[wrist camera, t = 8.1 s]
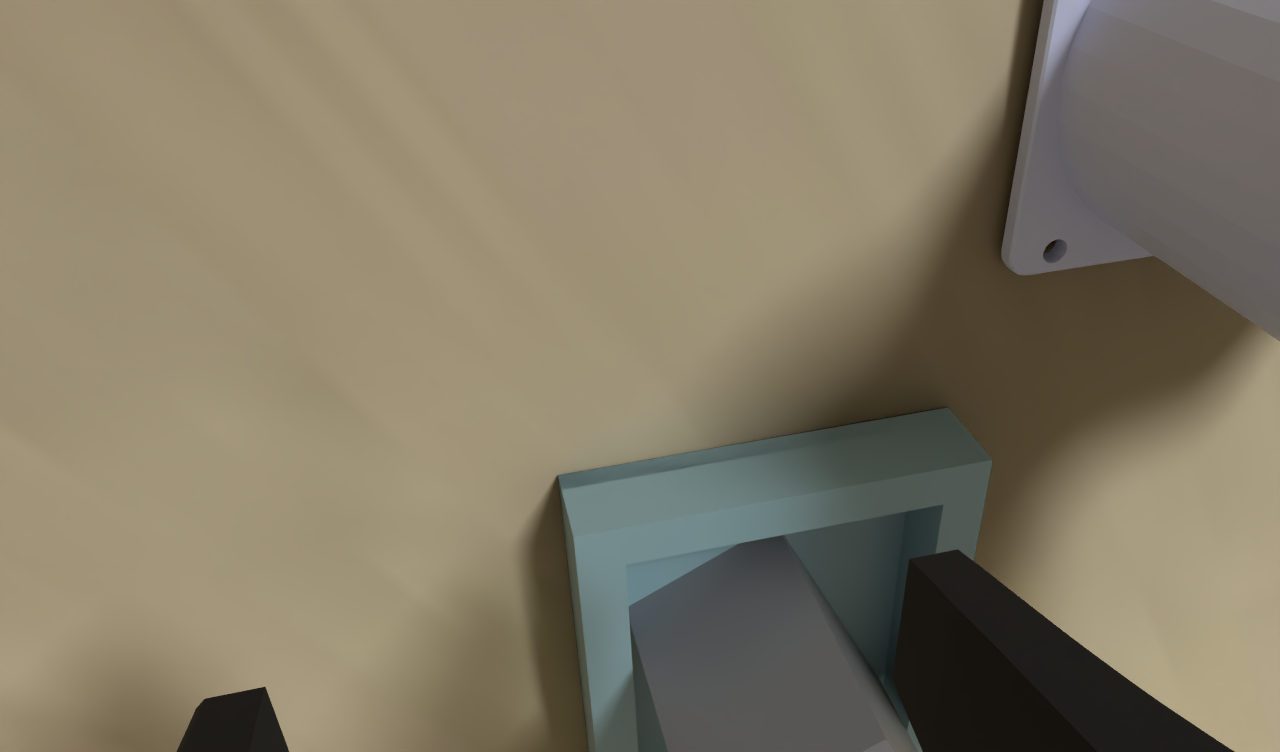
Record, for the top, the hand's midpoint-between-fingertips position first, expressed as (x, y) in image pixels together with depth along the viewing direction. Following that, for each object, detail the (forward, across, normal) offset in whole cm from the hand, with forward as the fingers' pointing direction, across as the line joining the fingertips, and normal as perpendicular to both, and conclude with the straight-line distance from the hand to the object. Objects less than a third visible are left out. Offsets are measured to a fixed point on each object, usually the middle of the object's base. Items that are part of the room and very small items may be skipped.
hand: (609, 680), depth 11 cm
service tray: (+9, -5, +10) cm, 15 cm away
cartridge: (+9, -5, +10) cm, 15 cm away
